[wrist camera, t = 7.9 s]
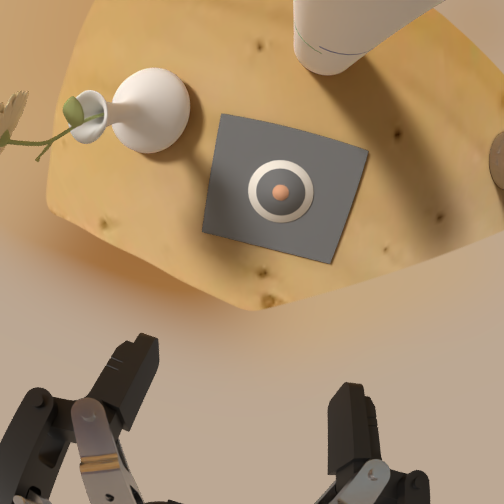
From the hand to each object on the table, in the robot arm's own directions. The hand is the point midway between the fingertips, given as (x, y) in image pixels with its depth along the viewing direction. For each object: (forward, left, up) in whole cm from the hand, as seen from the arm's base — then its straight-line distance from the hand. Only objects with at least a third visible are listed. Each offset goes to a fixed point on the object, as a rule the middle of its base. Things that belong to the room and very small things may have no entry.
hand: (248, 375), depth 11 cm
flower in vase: (+19, -7, -27) cm, 34 cm away
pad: (0, 0, -27) cm, 27 cm away
